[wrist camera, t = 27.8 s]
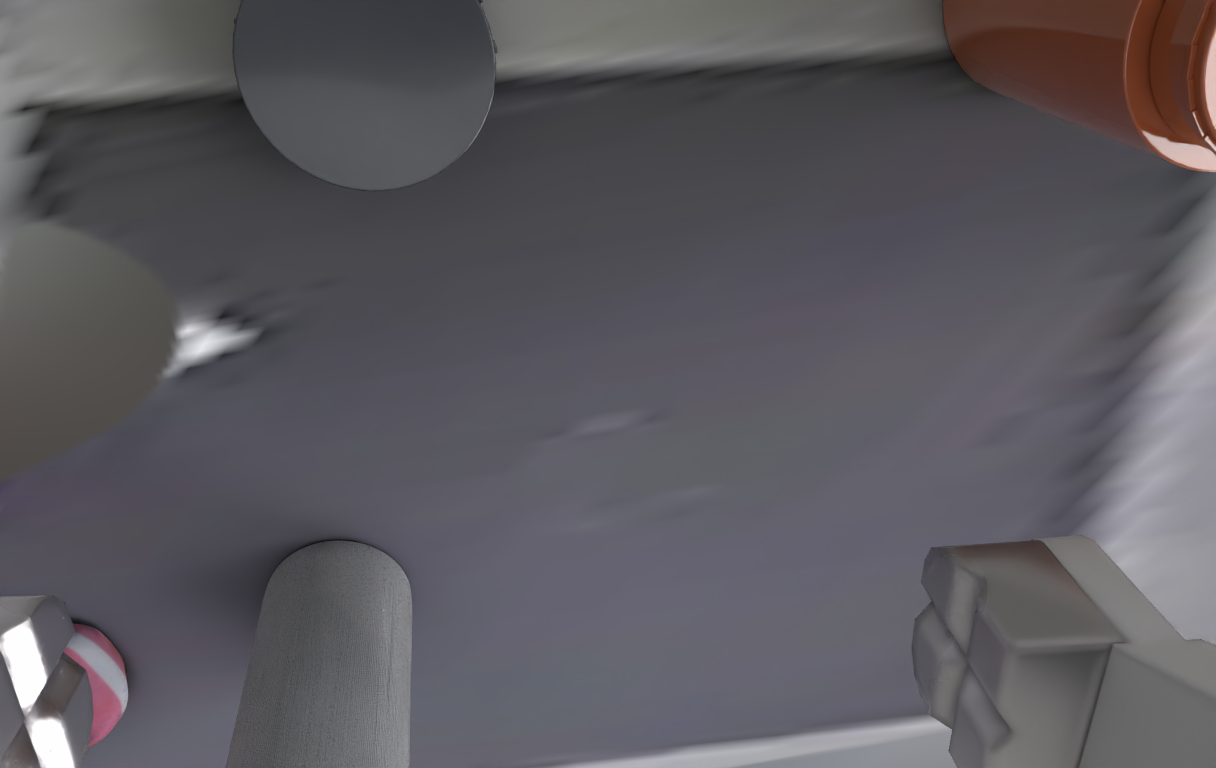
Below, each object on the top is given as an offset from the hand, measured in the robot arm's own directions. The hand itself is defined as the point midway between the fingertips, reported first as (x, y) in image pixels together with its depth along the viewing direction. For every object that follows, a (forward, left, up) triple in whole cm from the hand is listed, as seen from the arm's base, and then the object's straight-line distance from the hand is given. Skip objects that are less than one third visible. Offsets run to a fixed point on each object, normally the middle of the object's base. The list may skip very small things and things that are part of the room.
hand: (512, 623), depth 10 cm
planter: (+14, -6, -19) cm, 24 cm away
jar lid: (-2, -2, -18) cm, 18 cm away
